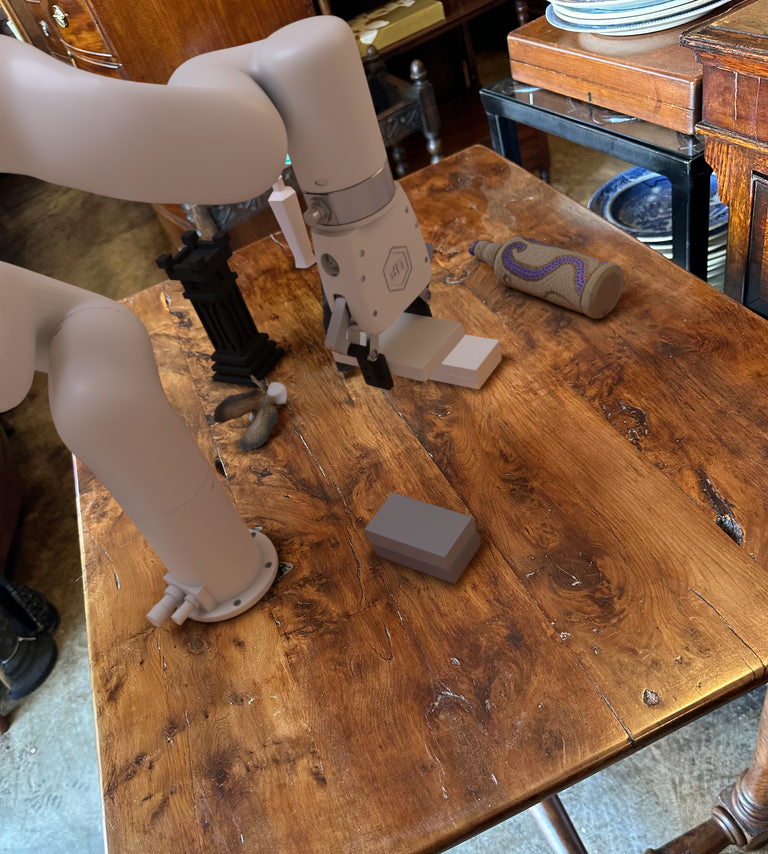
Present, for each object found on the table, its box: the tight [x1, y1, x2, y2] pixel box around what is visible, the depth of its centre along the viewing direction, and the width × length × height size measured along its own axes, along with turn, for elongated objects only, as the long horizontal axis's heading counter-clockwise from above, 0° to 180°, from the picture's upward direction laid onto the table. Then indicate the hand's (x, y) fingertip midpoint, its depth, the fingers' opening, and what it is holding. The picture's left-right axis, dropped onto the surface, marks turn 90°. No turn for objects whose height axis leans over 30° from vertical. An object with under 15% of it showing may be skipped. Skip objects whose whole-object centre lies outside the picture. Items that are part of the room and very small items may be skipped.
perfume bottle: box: [267, 174, 317, 269], centre depth 128 cm, size 5×4×15 cm
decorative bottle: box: [467, 235, 625, 320], centre depth 109 cm, size 26×8×7 cm, turn 39°
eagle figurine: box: [212, 375, 288, 452], centre depth 104 cm, size 8×7×9 cm
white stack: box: [428, 333, 502, 390], centre depth 103 cm, size 6×11×3 cm, turn 56°
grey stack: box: [363, 492, 482, 585], centre depth 83 cm, size 6×10×4 cm, turn 56°
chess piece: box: [154, 229, 285, 388], centre depth 110 cm, size 8×8×20 cm
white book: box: [331, 312, 465, 383], centre depth 76 cm, size 7×11×2 cm, turn 55°
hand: (402, 359), depth 78 cm, fingers closed on white book, 7 cm apart
